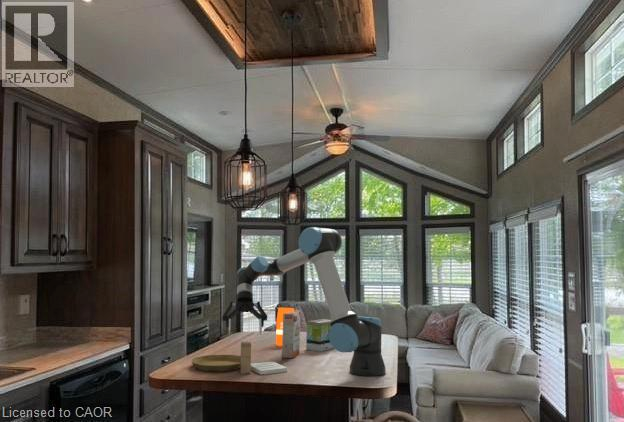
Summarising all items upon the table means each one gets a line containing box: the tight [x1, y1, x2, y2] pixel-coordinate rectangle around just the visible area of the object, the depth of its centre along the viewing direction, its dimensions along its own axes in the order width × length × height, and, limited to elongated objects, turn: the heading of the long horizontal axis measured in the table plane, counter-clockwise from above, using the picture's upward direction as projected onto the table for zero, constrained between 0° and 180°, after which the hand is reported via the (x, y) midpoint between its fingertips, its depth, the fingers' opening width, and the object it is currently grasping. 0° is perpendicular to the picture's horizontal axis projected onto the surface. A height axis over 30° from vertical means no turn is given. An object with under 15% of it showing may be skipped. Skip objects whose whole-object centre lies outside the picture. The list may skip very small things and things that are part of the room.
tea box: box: [305, 318, 335, 352], centre depth 259 cm, size 15×10×15 cm, turn 143°
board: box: [251, 361, 288, 376], centre depth 209 cm, size 14×12×2 cm
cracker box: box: [281, 310, 301, 359], centre depth 240 cm, size 14×6×21 cm, turn 168°
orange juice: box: [275, 307, 295, 347], centre depth 270 cm, size 8×9×20 cm
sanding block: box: [239, 341, 252, 375], centre depth 205 cm, size 6×4×12 cm, turn 10°
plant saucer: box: [191, 354, 241, 373], centre depth 214 cm, size 24×24×3 cm
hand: (245, 332), depth 216 cm, fingers open, 13 cm apart
